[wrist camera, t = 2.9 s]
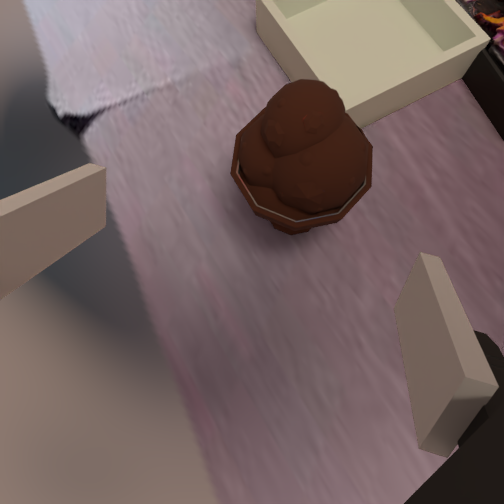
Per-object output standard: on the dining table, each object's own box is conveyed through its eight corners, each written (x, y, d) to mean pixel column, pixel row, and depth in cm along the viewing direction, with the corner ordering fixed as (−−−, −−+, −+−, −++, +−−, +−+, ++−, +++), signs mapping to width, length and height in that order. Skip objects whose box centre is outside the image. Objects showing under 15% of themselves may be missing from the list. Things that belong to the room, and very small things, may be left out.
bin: (378, -24, 47) (391, -68, 42) (465, 76, 43) (490, 38, 38) (256, 32, 45) (255, -8, 40) (333, 142, 41) (342, 112, 36)
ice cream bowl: (216, 214, 39) (188, 123, 24) (289, 141, 41) (303, 18, 26) (297, 284, 36) (318, 229, 22) (370, 203, 38) (432, 104, 24)
